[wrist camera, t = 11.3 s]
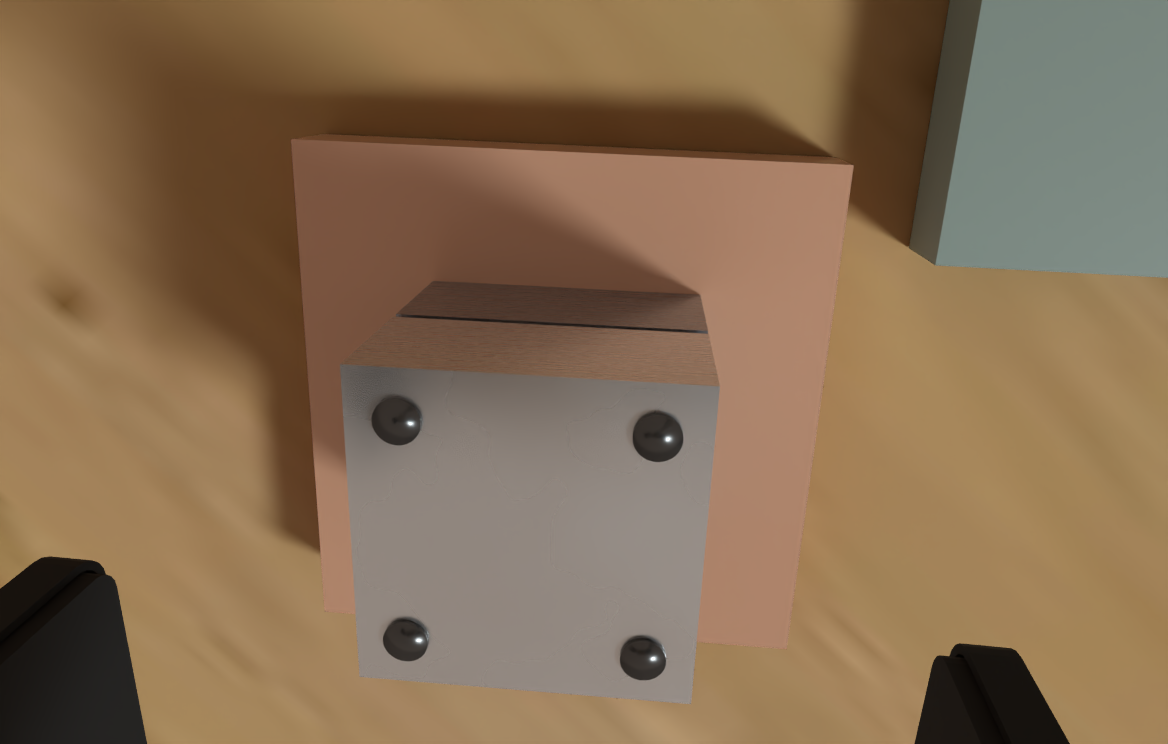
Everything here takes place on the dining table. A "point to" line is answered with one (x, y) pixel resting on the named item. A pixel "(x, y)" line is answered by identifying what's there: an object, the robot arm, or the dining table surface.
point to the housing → (532, 489)
